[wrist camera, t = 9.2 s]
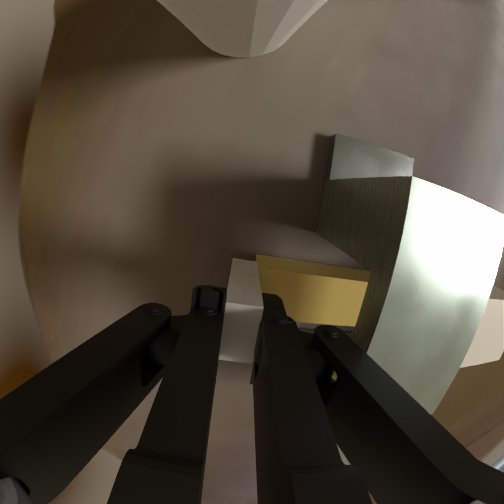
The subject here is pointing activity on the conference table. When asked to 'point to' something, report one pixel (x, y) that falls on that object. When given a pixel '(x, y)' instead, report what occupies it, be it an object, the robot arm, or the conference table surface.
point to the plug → (358, 300)
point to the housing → (410, 263)
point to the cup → (242, 23)
